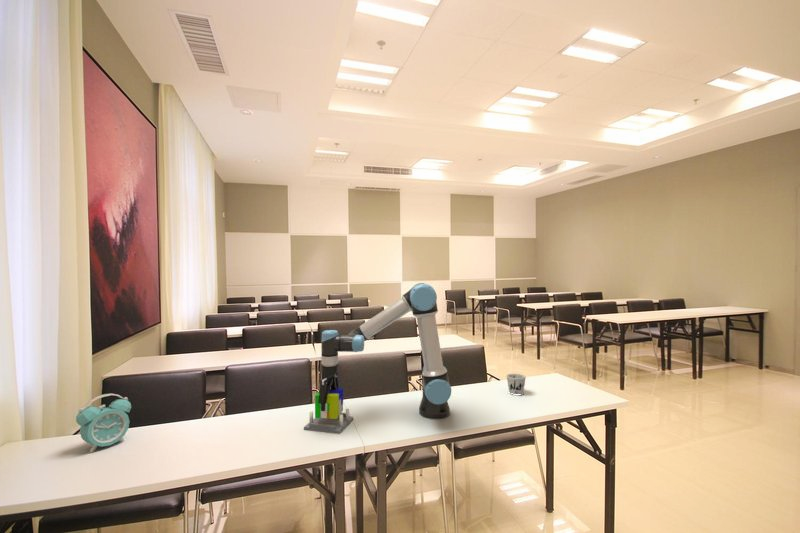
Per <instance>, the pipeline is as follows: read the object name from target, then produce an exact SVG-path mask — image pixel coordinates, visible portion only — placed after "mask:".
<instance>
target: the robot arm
mask: <svg viewBox="0 0 800 533" xmlns="http://www.w3.org/2000/svg"><path fill="white" fill-rule="evenodd" d="M437 296H438V295H437V292H436V290H435V289H434V287H433V286H432V285H430V284H427V283H425V282H419V283H417V284H415V285H414V286H412V288H409V290H408V291H407V292H405V293H404V294H402V296H401V298H400V299H398V300H396V302H394V303H392V304H391V305H389V306H388V307H386V308H385V309H383V310H382V311H380V312H379V313H377V314H376V315H374V316H372V317H371V318H369V319H368V320H366V321H365V322H364V323H362V324H361V325H359V326H358V327H356V328H354V329H352V330H351V331H349V333H348V334H339V331H338V330H336V329H329V330H328V329H326V330H323V331H322V332H321V340H320V341H321V346H320V348H321V357H320V359H321V366H320V367H321V369H320V372H321V374H322V375H323V379H320V381H319V382H320V385H319V386H320V387H319V391H320V392H319V391H318V392H319V399H318V403H320V404H321V418H327V403H326V401H327V396H328V392H329V389H330V388H331V389H341V387H340V382H339V352H342V353H344V352H345V353H347V352H349V353H351V352H352V353H358V352H359V353H360V352H361V353H362V352H363V351H364V350H365V341H367V340H368V339H370V338H372V337H373V336H374V335H376V334H377V333H379V332H381V331H382V330H384V329H385V328H386V327H388V326H389V325H391V324H392V323H394V322H396V321H397V320H399V319H401V318H402V317H404V316H405V315H407V314H408V313H409V312H411V313H412V316H414V317H415V318H416V322H417V328H418V334H419V335H418V336H419V341H420V346H421V347H420V348H421V355H422V360H423V367H422V372H421V375H422V397H421V400H420V404H419V408H418V412H419V415H420V416H422V417H423V418H426V419H435V420H436V419H444V418H447V417H448V416H450V414H451V412H450V411H451V410H450V406H449V403H448V401H449V399H451V395H452V386H451V384H450V379H449V374H448V369H447V368H446V366H444V363H443V357H442V351H441V344H440V343H441V342H440V338H439V331H438V325H437V324H438V323H437V318H436V315H437V313H438V312H439V310H438V304H437V298H438V297H437Z"/></svg>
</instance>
